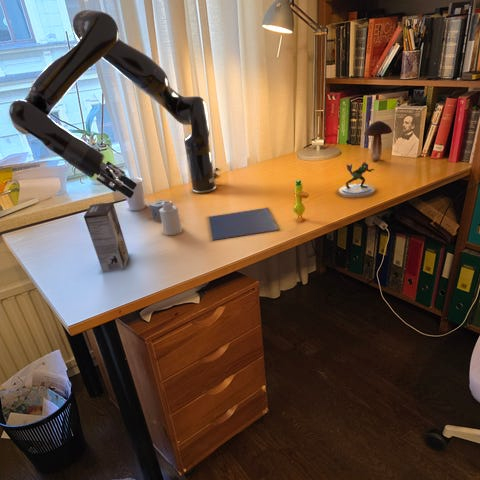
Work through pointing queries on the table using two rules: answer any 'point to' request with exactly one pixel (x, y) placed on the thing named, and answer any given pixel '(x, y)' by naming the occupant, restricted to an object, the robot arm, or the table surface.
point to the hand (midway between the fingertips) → (133, 191)
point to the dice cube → (156, 209)
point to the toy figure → (299, 200)
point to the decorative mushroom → (377, 137)
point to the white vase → (170, 218)
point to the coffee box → (107, 236)
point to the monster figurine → (357, 189)
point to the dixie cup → (136, 196)
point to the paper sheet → (242, 224)
